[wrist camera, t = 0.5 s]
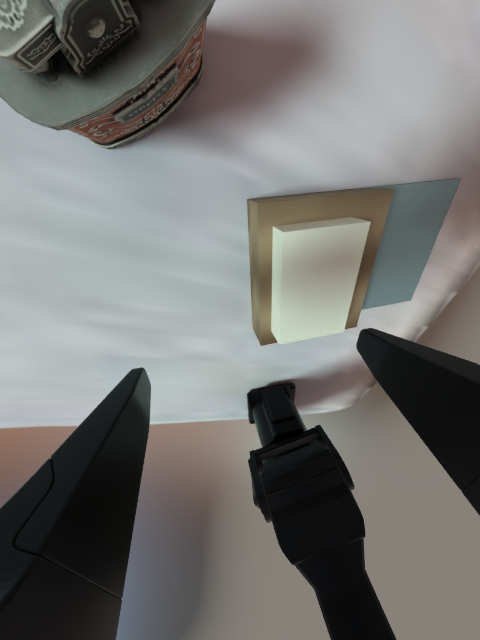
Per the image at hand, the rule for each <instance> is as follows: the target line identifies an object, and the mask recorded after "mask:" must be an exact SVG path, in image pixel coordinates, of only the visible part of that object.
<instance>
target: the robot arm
mask: <svg viewBox="0 0 480 640" xmlns="http://www.w3.org/2000/svg"><path fill="white" fill-rule="evenodd" d="M356 346H357V350H358V352H359V353H360V355H361V356H362V358H363V360H364V361H365V363H366V364H367V366H368V368H369V369H370V371H371V372H372V374H373V376H374V377H375V379H376V380H377V381H378V383H379V384H380V385H381V387H382V388H383V389H384V391H385V392H386V393H387V395H388V396H389V397H390V398H391V400H392V401H393V402H394V404H395V405H396V406H397V408H398V409H399V410H400V411H401V413H402V414H403V416H404V417H405V418H406V419H407V421H408V422H409V423H410V425H411V426H412V427H413V429H414V430H415V431H416V433H418V435H419V436H420V438H421V439H422V440H423V442H424V443H425V444H426V446H427V447H428V448H429V450H430V451H431V452H432V453H433V455H434V456H435V457H436V458H437V460H438V461H439V463H440V464H441V465H442V466H443V468H444V469H445V470H446V472H447V473H448V474H449V476H450V477H451V478H452V479H453V481H454V482H455V484H456V485H457V486H458V487H459V489H460V490H461V491H462V493H463V494H464V496H465V497H466V498H467V499H468V501H469V502H470V503H471V505H472V506H473V507H474V509H475V510H476V511H477V513H478V514H479V515H480V365H478V364H477V363H474V362H470V361H468V360H465V359H462V358H459V357H456V356H453V355H450V354H447V353H444V352H441V351H438V350H435V349H432V348H429V347H426V346H423V345H420V344H417V343H414V342H411V341H408V340H406V339H403V338H400V337H397V336H394V335H391V334H388V333H385V332H382V331H379V330H376V329H373V328H368V329H363V330H361V331H360V334H359V337H358V341H357V344H356ZM294 396H295V385H294V383H288V384H284V385H280V386H275V387H271V388H266V389H262V390H257V391H253V392H249V393H248V394H247V403H248V415H249V422H250V423H251V424H253V423H255V424H256V428H257V431H258V435H259V438H260V441H261V445H262V448H260V449H257V450H252V451H250V459H249V460H248V463H249V467H250V472H251V477H252V489H253V500H254V504H255V505H256V506H257V507H258V508H260V509H261V512H262V514H263V515H264V517H265V520H266V522H267V523H269V522H271V521H272V523H273V526H274V529H275V533H276V536H277V540H278V543H279V545H280V548H281V549H282V551H283V553H284V554H285V556H286V557H287V558H288V560H289V561H290V562H291V564H292V565H295V566H296V568H297V569H298V570H299V571H300V572H301V574H302V575H303V576H304V577H305V579H306V580H307V581H308V582H309V583H310V585H311V586H312V587H313V588H314V590H315V593H316V596H317V599H318V602H319V605H320V608H321V611H322V614H323V617H324V620H325V623H326V626H327V629H328V632H329V635H330V638H331V640H396V638H395V635H394V633H393V631H392V629H391V627H390V624H389V622H388V620H387V618H386V615H385V613H384V611H383V609H382V607H381V604H380V602H379V600H378V598H377V596H376V593H375V591H374V589H373V586H372V585H371V582H370V580H369V577H368V575H367V573H366V570H365V561H364V541H363V538H364V537H365V527H364V519H363V516H362V514H361V511H360V509H359V507H358V505H357V503H356V501H355V499H354V497H353V494H352V492H351V490H354V484H353V481H352V479H351V476H350V474H349V472H348V469H347V467H346V466H345V464H344V462H343V460H342V458H341V457H340V455H339V453H338V452H337V450H336V449H335V447H334V446H333V444H332V443H331V441H330V439H329V438H328V436H327V435H326V434H325V432H324V430H323V429H322V427H321V426H320V425H317V426H315V428H312V429H309V430H307V429H306V427H305V425H304V423H303V421H302V419H301V417H300V415H299V413H298V411H297V409H296V407H295V405H294ZM150 398H151V384H150V381H149V378H148V376H147V373H146V370H145V369H144V368H136V369H132V370H131V371H130V372H129V373H128V374H127V375H126V376H125V377H124V378H123V379H122V380H121V381H120V383H119V384H118V385H117V386H116V387H115V388H114V389H113V390H112V391H111V392H110V393H109V394H108V395H107V396H106V398H105V399H104V400H103V401H102V402H101V403H100V404H99V405H98V406H97V407H96V408H95V409H94V410H93V412H92V413H91V414H90V415H89V416H88V417H87V418H86V419H85V420H84V421H83V422H82V423H81V424H80V425H79V427H78V428H77V429H76V430H75V431H74V432H73V433H72V434H71V435H70V436H69V437H68V438H67V439H66V441H65V442H64V443H63V444H62V445H61V446H60V447H59V448H58V449H57V450H56V451H55V453H54V454H53V455H52V456H51V458H50V459H48V460H47V461H46V462H45V463H44V464H43V465H42V466H41V467H40V468H39V469H38V470H37V472H36V473H35V474H34V475H33V476H32V477H31V478H30V479H29V480H28V481H27V482H26V483H25V484H24V485H23V486H22V487H21V488H20V489H19V490H18V491H17V493H15V494H14V496H12V497H11V499H9V500H8V501H7V502H6V503H5V504H4V505H3V506H2V507H1V508H0V640H116V635H117V628H118V622H119V616H120V610H121V603H122V600H121V598H122V596H123V590H124V583H125V577H126V570H127V565H128V559H129V552H130V546H131V540H132V533H133V526H134V521H135V515H136V508H137V502H138V496H139V489H140V483H141V477H142V471H143V464H144V458H145V451H146V445H147V439H148V433H149V423H150Z"/></svg>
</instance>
